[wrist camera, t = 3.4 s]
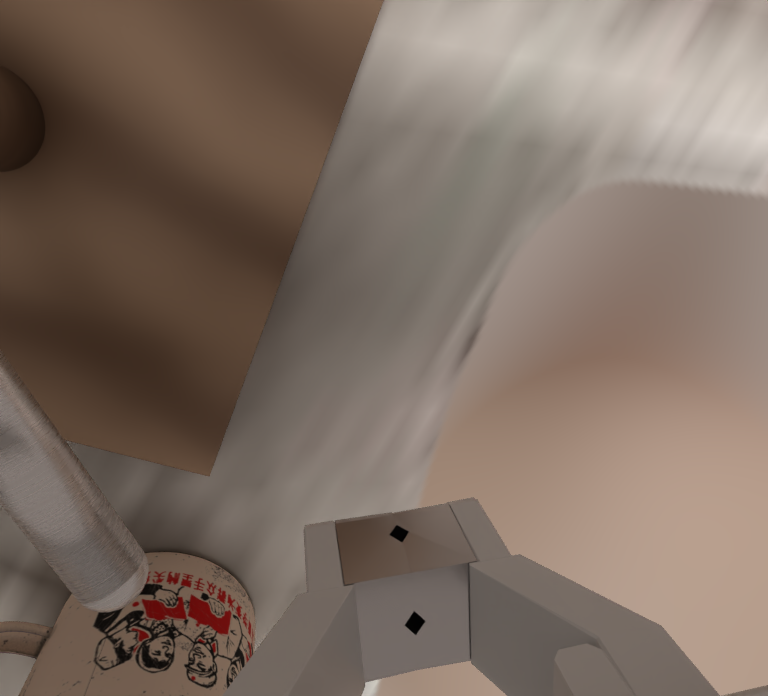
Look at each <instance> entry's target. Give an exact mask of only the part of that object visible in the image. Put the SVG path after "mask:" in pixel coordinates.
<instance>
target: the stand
mask: <svg viewBox="0 0 768 696" xmlns="http://www.w3.org/2000/svg"><path fill="white" fill-rule="evenodd" d="M382 3H383V0H0V350H1V352H2V353H3V354H4V356H5V357H6V359H7V360H8V361H9V363H10V364H11V366H12V367H13V368H14V370H15V371H16V373H17V374H18V375H19V377H20V378H21V380H22V381H23V382H24V384H25V385H26V387H27V388H28V389H29V391H30V392H31V394H32V395H33V396H34V398H35V399H36V401H37V402H38V403H39V405H40V406H41V408H42V409H43V410H44V412H45V413H46V415H47V416H48V418H49V419H50V420H51V422H52V423H53V425H54V426H55V427H56V429H57V430H58V432H59V433H60V434H61V436H62V437H63V439H64V440H67V441H71V442H75V443H79V444H83V445H87V446H91V447H95V448H99V449H103V450H107V451H111V452H115V453H118V454H122V455H126V456H130V457H134V458H138V459H142V460H146V461H150V462H154V463H158V464H162V465H166V466H170V467H174V468H178V469H182V470H186V471H190V472H194V473H198V474H202V475H205V476H210V473H211V470H212V468H213V465H214V462H215V460H216V457H217V454H218V451H219V449H220V446H221V443H222V440H223V438H224V435H225V432H226V429H227V427H228V424H229V421H230V419H231V416H232V413H233V410H234V408H235V405H236V402H237V399H238V397H239V394H240V391H241V388H242V386H243V383H244V380H245V378H246V375H247V372H248V369H249V367H250V364H251V361H252V358H253V356H254V353H255V350H256V347H257V345H258V342H259V339H260V337H261V334H262V331H263V328H264V326H265V323H266V320H267V317H268V315H269V312H270V309H271V306H272V304H273V301H274V298H275V296H276V293H277V290H278V287H279V285H280V282H281V279H282V276H283V274H284V271H285V268H286V265H287V263H288V260H289V257H290V255H291V252H292V249H293V246H294V244H295V241H296V238H297V235H298V233H299V230H300V227H301V225H302V222H303V219H304V216H305V214H306V211H307V208H308V205H309V203H310V200H311V197H312V194H313V192H314V189H315V186H316V184H317V181H318V178H319V175H320V173H321V170H322V167H323V164H324V162H325V159H326V156H327V153H328V151H329V148H330V145H331V143H332V140H333V137H334V134H335V132H336V129H337V126H338V123H339V121H340V118H341V115H342V112H343V110H344V107H345V104H346V102H347V99H348V96H349V93H350V91H351V88H352V85H353V82H354V80H355V77H356V74H357V71H358V69H359V66H360V63H361V61H362V58H363V55H364V52H365V50H366V47H367V44H368V41H369V39H370V36H371V33H372V30H373V28H374V25H375V22H376V20H377V17H378V14H379V11H380V9H381V6H382Z"/></svg>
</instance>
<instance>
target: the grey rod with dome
mask: <svg viewBox="0 0 768 696" xmlns="http://www.w3.org/2000/svg"><path fill="white" fill-rule="evenodd" d="M0 504H1V505H2V507H3V508H4V509H5V510H6V512H7V513H8V514H9V515H10V517H11V518H12V519H13V520H14V522H15V523H16V524H17V525H18V527H19V528H20V529H21V530H22V532H23V533H24V534H25V535H26V537H27V538H28V539H29V540H30V542H31V543H32V544H33V545H34V547H35V548H36V549H37V550H38V552H39V553H40V554H41V555H42V557H43V558H44V559H45V560H46V562H47V563H48V564H49V565H50V567H51V568H52V569H53V570H54V572H55V573H56V574H57V575H58V577H59V578H60V579H61V580H62V582H63V583H64V584H65V585H66V587H67V588H68V589H69V590H70V592H71V593H72V594H73V595H74V597H75V598H76V599H77V600H78V601H79V602H80V603H81V604H82V605H83V606H84V607H86V608H87V609H89V610H92V611H96V612H112V611H116V610H119V609H122V608H123V607H125V606H127V605H128V604H130V603H131V602H132V601H133V600H135V599H136V598H137V597H138V595H139V594H140V593H141V592H142V590H143V588H144V586H145V584H146V582H147V578H148V573H149V565H148V560H147V557H146V555H145V553H144V551H143V549H142V548H141V547H140V545H139V544H138V542H137V541H136V540H135V538H134V537H133V535H132V534H131V533H130V531H129V530H128V528H127V527H126V526H125V524H124V523H123V521H122V520H121V519H120V517H119V516H118V514H117V513H116V512H115V510H114V509H113V507H112V506H111V505H110V503H109V502H108V500H107V499H106V498H105V496H104V495H103V493H102V492H101V491H100V489H99V488H98V486H97V485H96V484H95V482H94V481H93V479H92V478H91V476H90V475H89V474H88V472H87V471H86V469H85V468H84V467H83V465H82V464H81V462H80V461H79V460H78V458H77V457H76V455H75V454H74V453H73V451H72V450H71V448H70V447H69V446H68V444H67V443H66V441H65V440H64V439H63V437H62V436H61V434H60V433H59V432H58V430H57V429H56V427H55V426H54V425H53V423H52V422H51V420H50V419H49V418H48V416H47V415H46V413H45V412H44V410H43V409H42V408H41V406H40V405H39V403H38V402H37V401H36V399H35V398H34V396H33V395H32V394H31V392H30V391H29V389H28V388H27V387H26V385H25V384H24V382H23V381H22V380H21V378H20V377H19V375H18V374H17V373H16V371H15V370H14V368H13V367H12V366H11V364H10V363H9V361H8V360H7V359H6V357H5V356H4V354H3V353H2V352H1V350H0Z"/></svg>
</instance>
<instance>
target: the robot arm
mask: <svg viewBox="0 0 768 696" xmlns="http://www.w3.org/2000/svg"><path fill="white" fill-rule="evenodd" d="M304 546H305V565H306V585H307V593H303V594H299V595H297V596H296V598H295V599H294V600H293V602H292V603H291V604H290V606H289V607H288V608H287V610H286V611H285V612H284V614H283V615H282V616H281V618H280V619H279V620H278V622H277V623H276V624H275V626H274V627H273V628H272V630H271V631H270V632H269V634H268V635H267V636H266V638H265V639H264V640H263V642H262V643H261V644H260V646H259V647H258V648H257V650H256V651H255V653H254V654H253V655H252V657H251V658H250V659H249V661H248V662H247V663H246V665H245V666H244V667H243V669H242V670H241V671H240V673H239V674H238V675H237V677H236V678H235V679H234V681H233V682H232V683H231V685H230V686H229V687H228V689H227V690H226V691H225V693H224V694H223V695H222V696H361V695H362V693H363V690H364V688H365V682H369V681H373V680H377V679H382V678H386V677H390V676H394V675H398V674H402V673H407V672H411V671H415V670H420V669H425V668H430V667H437V666H442V665H448V664H453V663H459V662H465V661H471V663H472V664H473V665H474V666H475V667H476V668H477V669H478V670H479V671H481V672H482V673H483V674H484V675H485V676H486V677H487V678H488V679H489V680H490V681H492V682H493V683H494V684H495V685H496V686H497V687H498V688H499V689H500V690H502V691H503V692H504V693H505V694H506V695H507V696H720V695H719V694H718V693H717V691H716V690H715V689H714V688H713V687H712V686H711V685H710V683H709V682H708V681H707V680H706V679H705V677H704V676H703V675H702V674H701V672H700V671H699V670H698V669H697V668H696V666H695V665H694V664H693V663H692V662H691V660H690V659H689V658H688V657H687V656H686V655H685V653H684V652H683V651H682V650H681V649H680V647H679V646H678V645H677V644H676V643H675V641H674V640H673V639H672V638H671V637H670V636H669V634H668V633H667V632H666V631H665V630H664V628H663V627H662V626H661V625H659V624H657V623H655V622H653V621H651V620H649V619H647V618H645V617H643V616H641V615H639V614H637V613H635V612H633V611H631V610H629V609H627V608H625V607H623V606H621V605H619V604H617V603H615V602H613V601H611V600H609V599H607V598H605V597H603V596H601V595H599V594H597V593H595V592H593V591H591V590H589V589H587V588H585V587H583V586H581V585H580V584H577V583H576V582H574V581H572V580H570V579H568V578H566V577H564V576H562V575H560V574H558V573H556V572H554V571H552V570H550V569H548V568H546V567H544V566H542V565H540V564H538V563H536V562H534V561H532V560H530V559H528V558H526V557H524V556H522V555H520V554H519V555H514V556H512V555H511V554H510V552H509V551H508V549H507V547H506V546H505V544H504V542H503V541H502V539H501V537H500V536H499V534H498V533H497V531H496V529H495V528H494V526H493V525H492V523H491V521H490V520H489V518H488V516H487V515H486V513H485V511H484V510H483V508H482V506H481V505H480V503H479V502H478V500H477V499H475V498H467V499H463V500H457V501H452V502H447V503H446V504H440V505H435V506H429V507H423V508H418V509H412V510H406V511H401V512H395V513H392V512H391V513H384V514H377V515H370V516H363V517H355V518H348V519H341V520H335V523H334V522H333V521H328V522H322V523H315V524H309V525H305V527H304ZM724 696H768V685H766V686H762V687H757V688H753V689H749V690H745V691H741V692H736V693H732V694H728V695H724Z"/></svg>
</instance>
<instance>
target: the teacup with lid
mask: <svg viewBox="0 0 768 696" xmlns="http://www.w3.org/2000/svg"><path fill="white" fill-rule="evenodd" d="M145 555H146V557H147V560H148V565H149V573H148V578H147V582H146V584H145V586H144V588H143V590H142V592H141V593H140V594H139V595H138V597H137V598H136V599H135V600H133V601H132V602H131V603H130V604H128V605H127V606H125V607H123V608H122V609H119V610H116V611H112V612H96V611H92V610H89V609H87V608H86V607H84V606H83V605H82V604H81V603H80V602H79V601H78V600H77V599H76V598H75V597H74V595H73V594H71V596H70V597H69V599H68V600H67V601H66V603H65V605H64V607H63V609H62V611H61V613H60V615H59V617H58V619H57V621H56V623H55V625H54V626H53V628H50V627H46V626H42V625H38V624H33V623H28V622H18V621H7V622H0V653H12V654H19V655H24V656H28V657H33V658H35V659H36V662H35V664H34V666H33V668H32V670H31V672H30V674H29V676H28V678H27V680H26V682H25V684H24V686H23V688H22V690H21V692H20V694H19V696H222V695H223V694H224V693H225V691H226V690H227V689H228V687H229V686H230V685H231V683H232V682H233V681H234V679H235V678H236V677H237V675H238V674H239V673H240V671H241V670H242V669H243V667H244V666H245V665H246V663H247V662H248V661H249V659H250V658H251V657H252V655H253V654H254V646H255V615H254V610H253V607H252V603H251V601H250V599H249V597H248V595H247V593H246V591H245V590H244V588H243V587H242V586H241V584H240V583H239V582H238V581H237V580H236V579H235V578H234V577H233V576H232V575H231V574H230V573H228V572H227V571H226V570H224V569H223V568H221V567H219V566H218V565H216V564H214V563H212V562H210V561H207V560H205V559H202V558H199V557H196V556H192V555H188V554H182V553H174V552H153V553H145Z"/></svg>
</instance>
